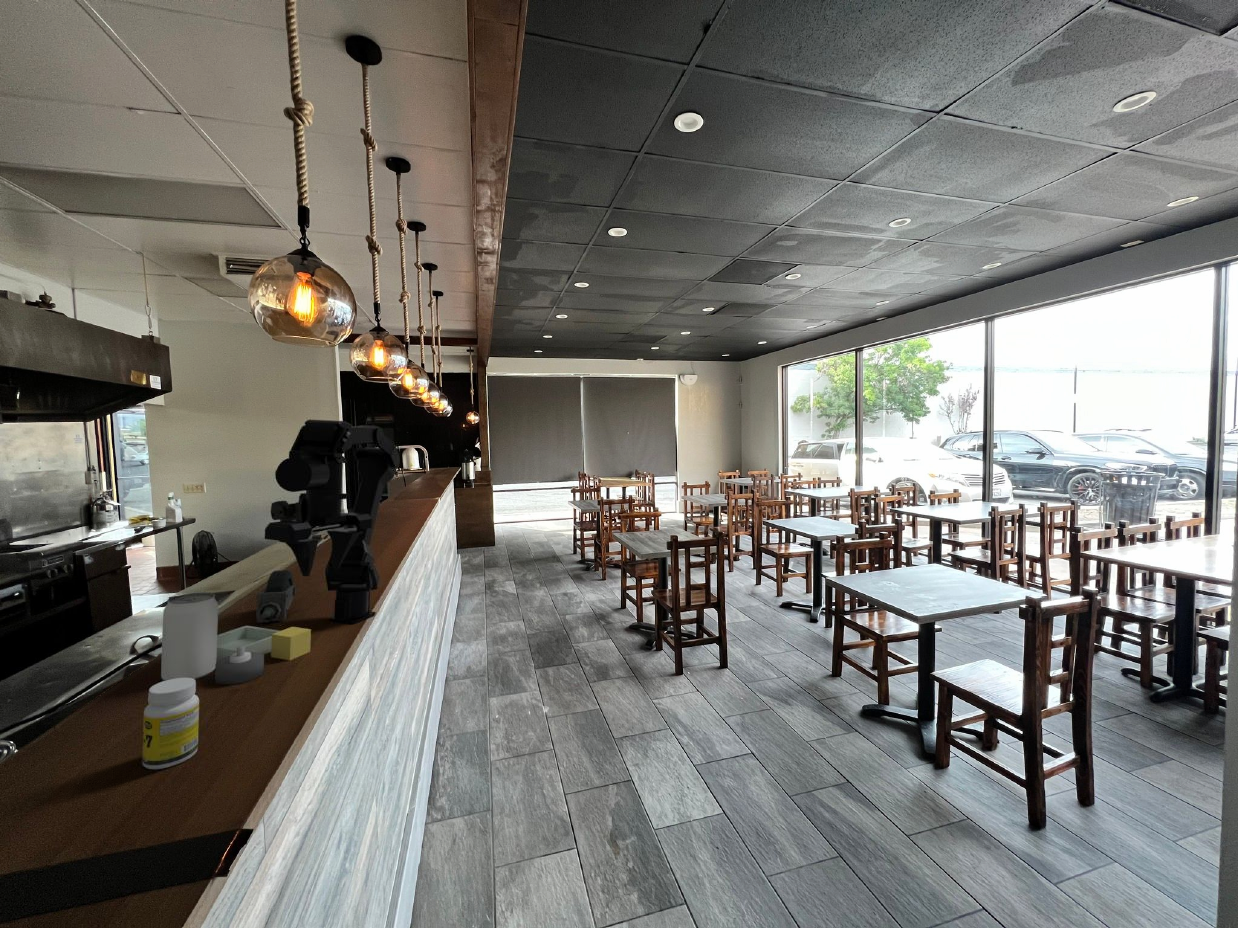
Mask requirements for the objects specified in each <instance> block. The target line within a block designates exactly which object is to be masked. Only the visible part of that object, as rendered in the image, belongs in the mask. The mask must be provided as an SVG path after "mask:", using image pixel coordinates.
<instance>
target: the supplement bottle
mask: <svg viewBox="0 0 1238 928" xmlns="http://www.w3.org/2000/svg"><path fill="white" fill-rule="evenodd" d="M196 687H197V683H196V679H193V678H176V679H170V680H166V681H165V680H162V681H161V682H158V683H156V684H153V685H151V687H150V688H149V689H148V695H147V696H148V697H147V702H148V704H147V706H146V707H145V708H144V711H143V722H142V724H143V725H142V726H143V729H142V752H141V753H142V755H141V756H142V758H141V759H142V760H141V764H142V766H143V767H145V768H146V769H148V770H161V769H165V768H166V769H167V768H170V767H173V766H176V765H179V764H181V763H184V762H186V761H188V760H189V759H191V758H192V757H193V756H194V755H195V754H196V753H197V751H198V749H199V747H198V746H199V718H200V699H199V697H198V695H196V694H195V693H196V689H197V688H196Z"/></svg>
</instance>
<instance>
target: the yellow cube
mask: <svg viewBox="0 0 1238 928" xmlns="http://www.w3.org/2000/svg"><path fill="white" fill-rule="evenodd" d="M278 631H279V632H277V633H274V634H272V644H271V652H270V657H271V658H273V659H274V658H275V659H281V660H285V661H286V660H287V661H292V660H294V659H297V658H298V657H301V656H303V655H306V654H308V653H310V652H311V636H312V633H311V632H312V629H309V628H305V627H304V628H302V627H298V626H290V627H287V628H285V629H283V630H278Z"/></svg>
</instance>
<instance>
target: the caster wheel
mask: <svg viewBox="0 0 1238 928" xmlns="http://www.w3.org/2000/svg"><path fill="white" fill-rule="evenodd" d="M296 595H297V587H296V586H295V585H294V576H293V573H292V571H290V570H287V569H284V570H282V569H281V570H274V571H272V572H271V574H270V575H269V578H268V579H267V584H266V587H265V588H264V589H262V591H260V592H259V593H258V594H257V596H256V599H257V601H256V611H255V615H256V616H255V617H256V622H257V623H260V624H261V623H262V624H263V622H265V623H270V622H269V621H280V622H283V621H285V620H286V619H287V613H288V609H290V607H291V604H292V602H293V600H294V598H295V596H296ZM284 619H285V620H284Z"/></svg>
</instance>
